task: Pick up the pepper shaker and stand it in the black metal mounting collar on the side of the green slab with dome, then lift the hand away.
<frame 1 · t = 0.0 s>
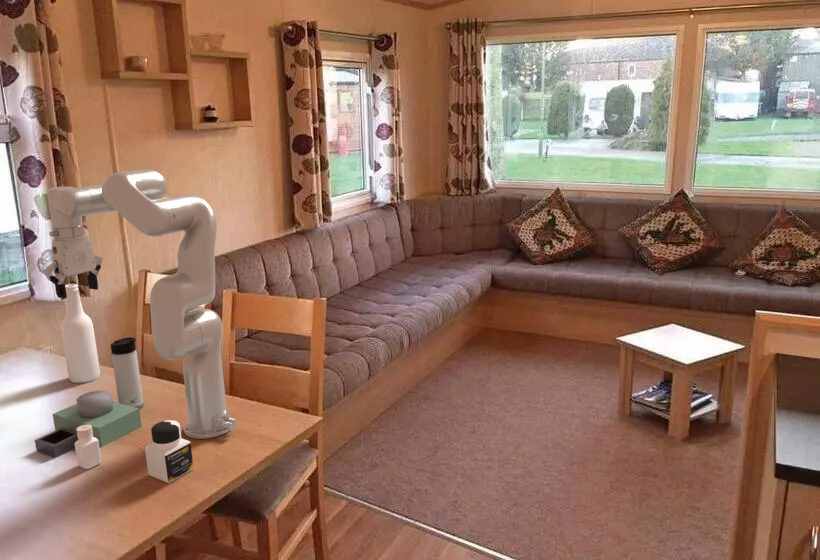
hand: (78, 293, 183), 31 cm above the table, tool pointing down, fingers open, 9 cm apart
chute collar: (59, 447, 162), on the table
medicine bottle: (171, 473, 150), on the table
pepper shaker: (90, 465, 154), on the table
green slab with dome: (98, 428, 171), on the table
travel mug: (132, 407, 184), on the table
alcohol: (85, 378, 205), on the table
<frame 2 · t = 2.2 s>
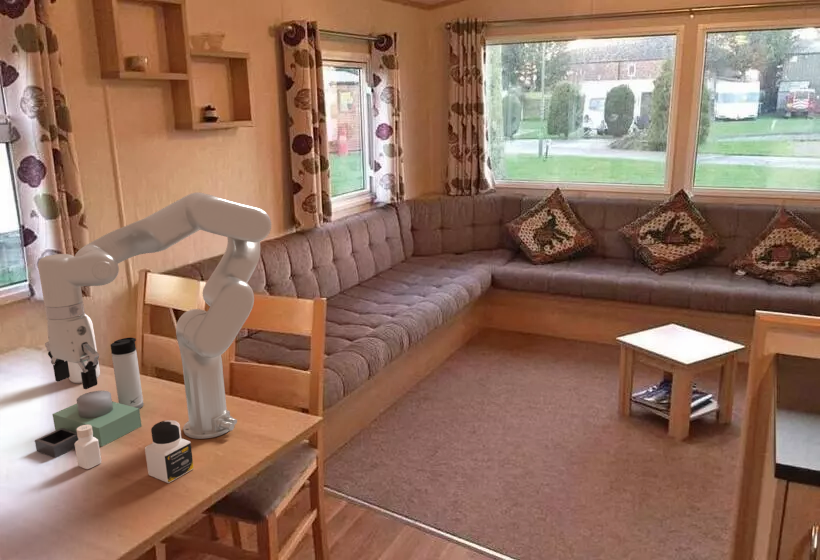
hand: (76, 383, 149), 20 cm above the table, tool pointing down, fingers open, 9 cm apart
nothing on the table moved.
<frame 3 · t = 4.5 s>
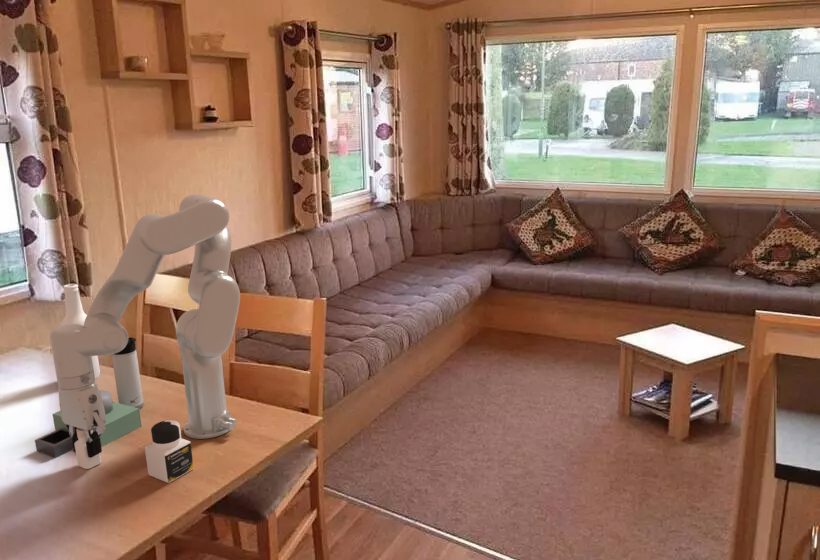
hand: (87, 451, 153), 3 cm above the table, tool pointing down, fingers closed on pepper shaker, 4 cm apart
pepper shaker: (90, 465, 154), on the table, touching gripper
everything else where it was.
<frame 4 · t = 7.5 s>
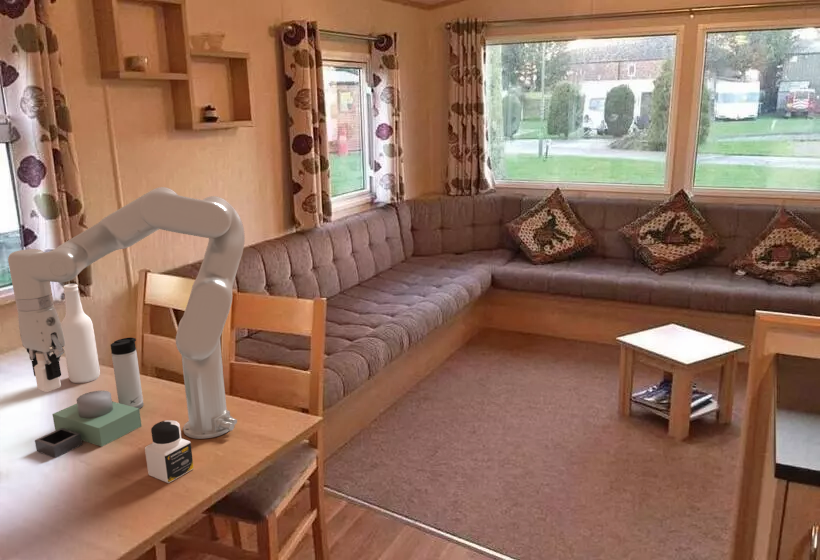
hand: (47, 375, 157), 19 cm above the table, tool pointing down, fingers closed on pepper shaker, 4 cm apart
pepper shaker: (49, 389, 158), point 16 cm above the table, touching gripper
everything else where it was.
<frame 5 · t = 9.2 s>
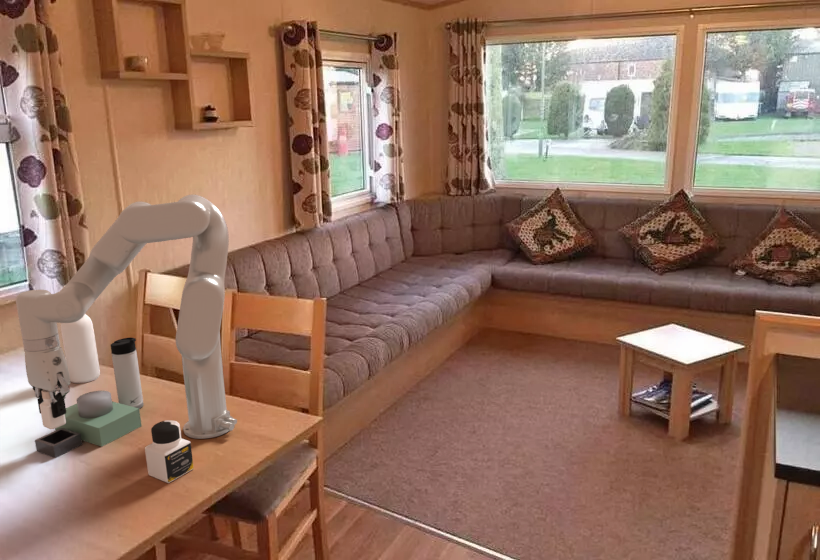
hand: (53, 412, 159), 9 cm above the table, tool pointing down, fingers closed on pepper shaker, 4 cm apart
pepper shaker: (55, 426, 160), point 6 cm above the table, touching gripper
everything else where it was.
when the fingers open (5 cm above the table, at t = 10.4 s): pepper shaker drops 1 cm, resting on chute collar.
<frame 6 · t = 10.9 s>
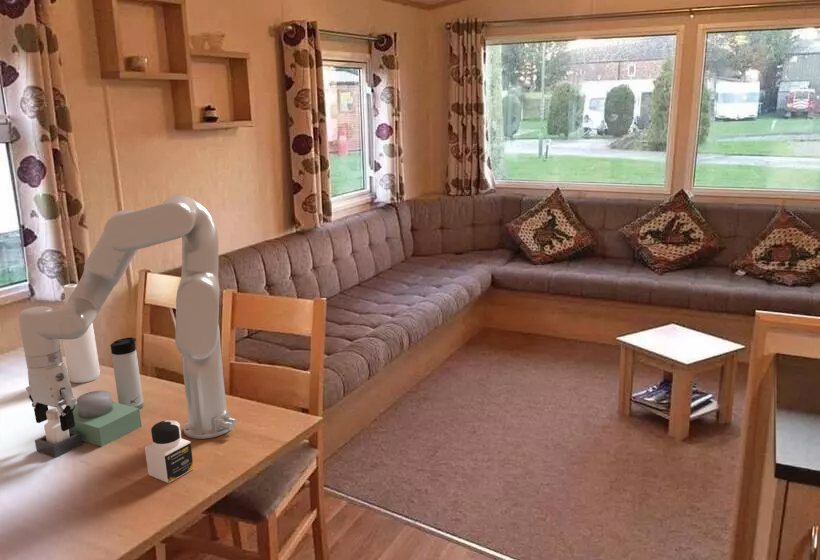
hand: (55, 424, 160), 6 cm above the table, tool pointing down, fingers open, 9 cm apart
pepper shaker: (59, 446, 162), resting on chute collar
everything else where it was.
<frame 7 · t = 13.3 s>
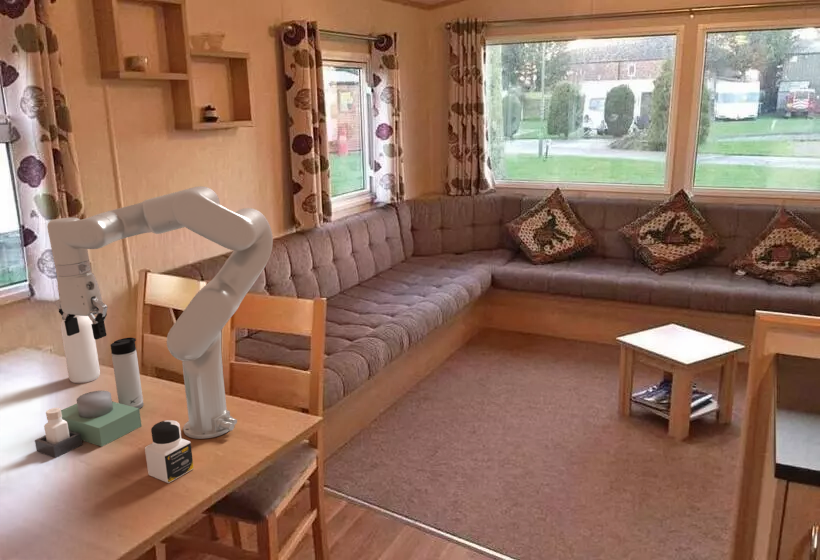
hand: (86, 335, 164), 26 cm above the table, tool pointing down, fingers open, 9 cm apart
nothing on the table moved.
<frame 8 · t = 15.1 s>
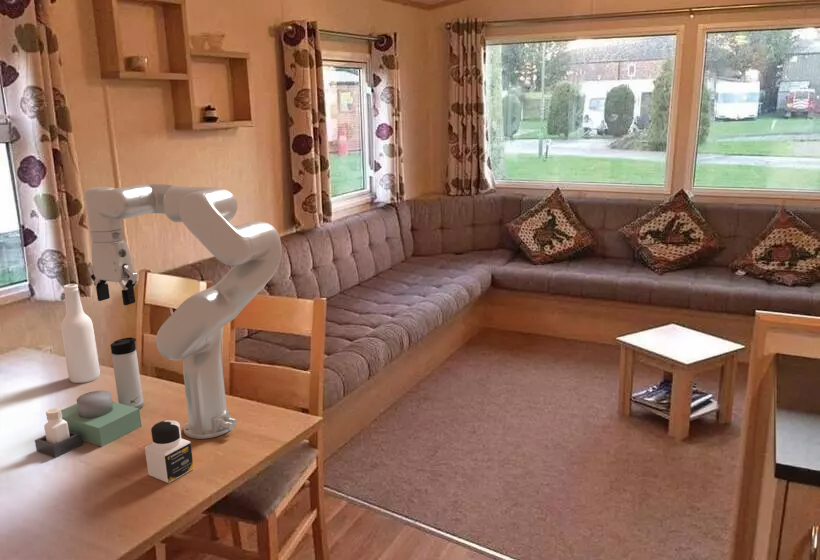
hand: (116, 301, 170), 32 cm above the table, tool pointing down, fingers open, 9 cm apart
nothing on the table moved.
at the end: pepper shaker 0.0 cm off-centre on the chute collar, point 0.3 cm above the chute collar's base; pepper shaker tilted 0°; the gripper is holding nothing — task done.
